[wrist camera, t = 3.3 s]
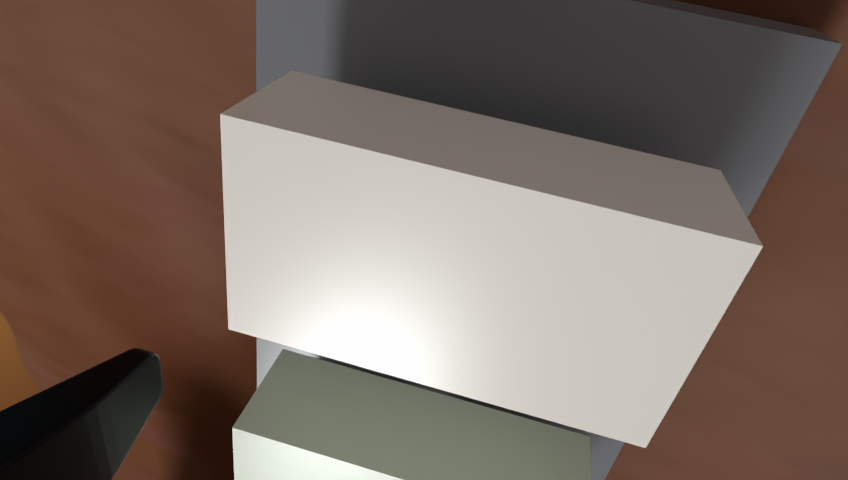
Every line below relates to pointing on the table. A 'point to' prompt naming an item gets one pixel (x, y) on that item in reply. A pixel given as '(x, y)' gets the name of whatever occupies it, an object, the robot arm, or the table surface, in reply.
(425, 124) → the white rectangular block
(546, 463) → the pale green rectangular block
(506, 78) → the console
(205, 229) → the table surface
